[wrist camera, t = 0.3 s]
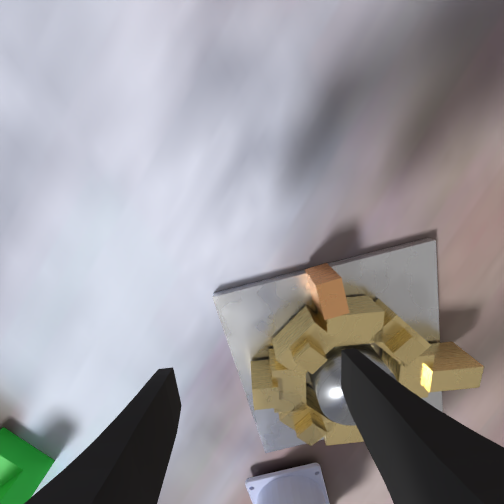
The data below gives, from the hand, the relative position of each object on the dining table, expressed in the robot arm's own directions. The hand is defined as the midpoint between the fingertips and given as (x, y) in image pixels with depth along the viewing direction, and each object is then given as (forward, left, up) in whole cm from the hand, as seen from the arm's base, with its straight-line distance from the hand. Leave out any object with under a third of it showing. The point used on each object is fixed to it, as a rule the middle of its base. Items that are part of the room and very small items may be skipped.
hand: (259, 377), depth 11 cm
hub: (-9, -6, -10) cm, 15 cm away
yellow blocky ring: (-9, -6, -9) cm, 14 cm away
